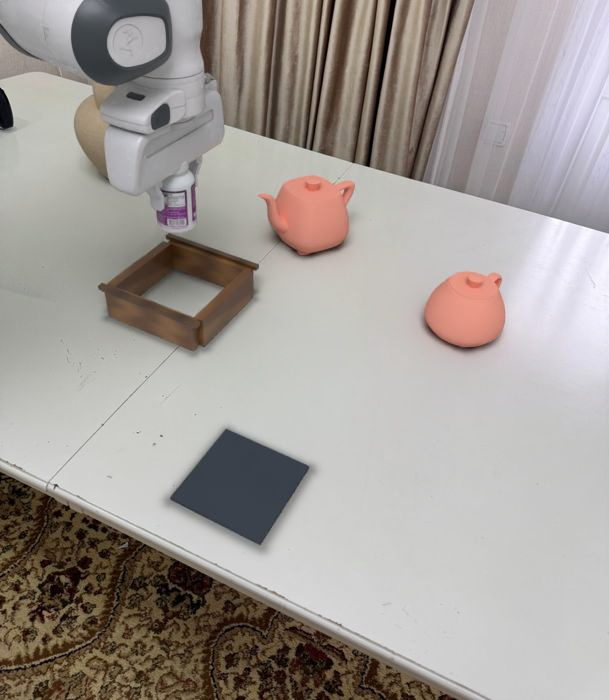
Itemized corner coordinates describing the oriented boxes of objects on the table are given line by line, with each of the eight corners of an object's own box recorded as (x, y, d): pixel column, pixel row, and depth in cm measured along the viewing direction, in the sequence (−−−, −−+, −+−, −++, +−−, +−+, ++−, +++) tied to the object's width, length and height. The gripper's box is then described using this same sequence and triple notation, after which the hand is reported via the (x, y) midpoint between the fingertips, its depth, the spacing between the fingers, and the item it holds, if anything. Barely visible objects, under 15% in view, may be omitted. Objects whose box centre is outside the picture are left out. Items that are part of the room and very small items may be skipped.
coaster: (170, 499, 72) (169, 497, 71) (226, 430, 80) (226, 428, 80) (260, 545, 68) (260, 543, 68) (309, 468, 76) (309, 465, 76)
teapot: (240, 236, 115) (239, 175, 106) (329, 212, 123) (335, 154, 115) (276, 273, 107) (279, 210, 98) (369, 245, 115) (378, 184, 107)
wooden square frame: (103, 315, 96) (97, 285, 92) (171, 260, 108) (169, 232, 104) (197, 354, 90) (195, 324, 87) (258, 292, 102) (259, 264, 99)
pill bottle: (174, 210, 88) (169, 145, 82) (204, 222, 86) (202, 156, 80) (149, 226, 85) (141, 159, 78) (180, 239, 83) (175, 171, 76)
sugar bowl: (405, 323, 99) (417, 270, 92) (461, 293, 106) (476, 241, 99) (465, 366, 92) (483, 312, 85) (521, 330, 99) (541, 278, 92)
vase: (97, 155, 135) (71, 1, 115) (173, 161, 135) (160, 9, 115) (72, 191, 123) (39, 26, 103) (157, 198, 123) (139, 34, 103)
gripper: (194, 63, 82) (198, 163, 91) (88, 111, 67) (106, 223, 77) (235, 74, 80) (235, 174, 89) (135, 125, 66) (148, 238, 75)
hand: (175, 197), depth 83 cm, fingers closed on pill bottle, 5 cm apart
